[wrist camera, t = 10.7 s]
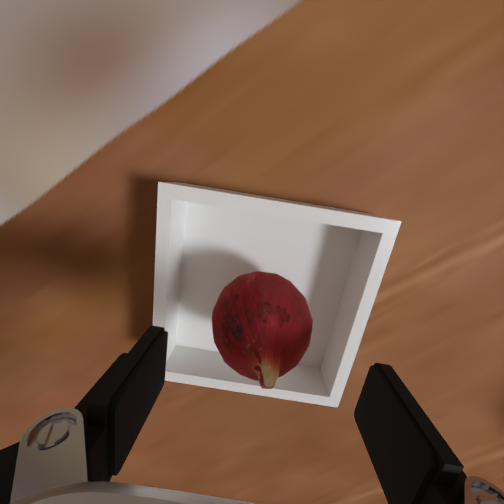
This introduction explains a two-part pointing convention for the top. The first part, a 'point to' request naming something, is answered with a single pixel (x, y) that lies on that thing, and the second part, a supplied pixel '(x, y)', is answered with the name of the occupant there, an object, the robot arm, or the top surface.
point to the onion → (261, 326)
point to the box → (272, 261)
